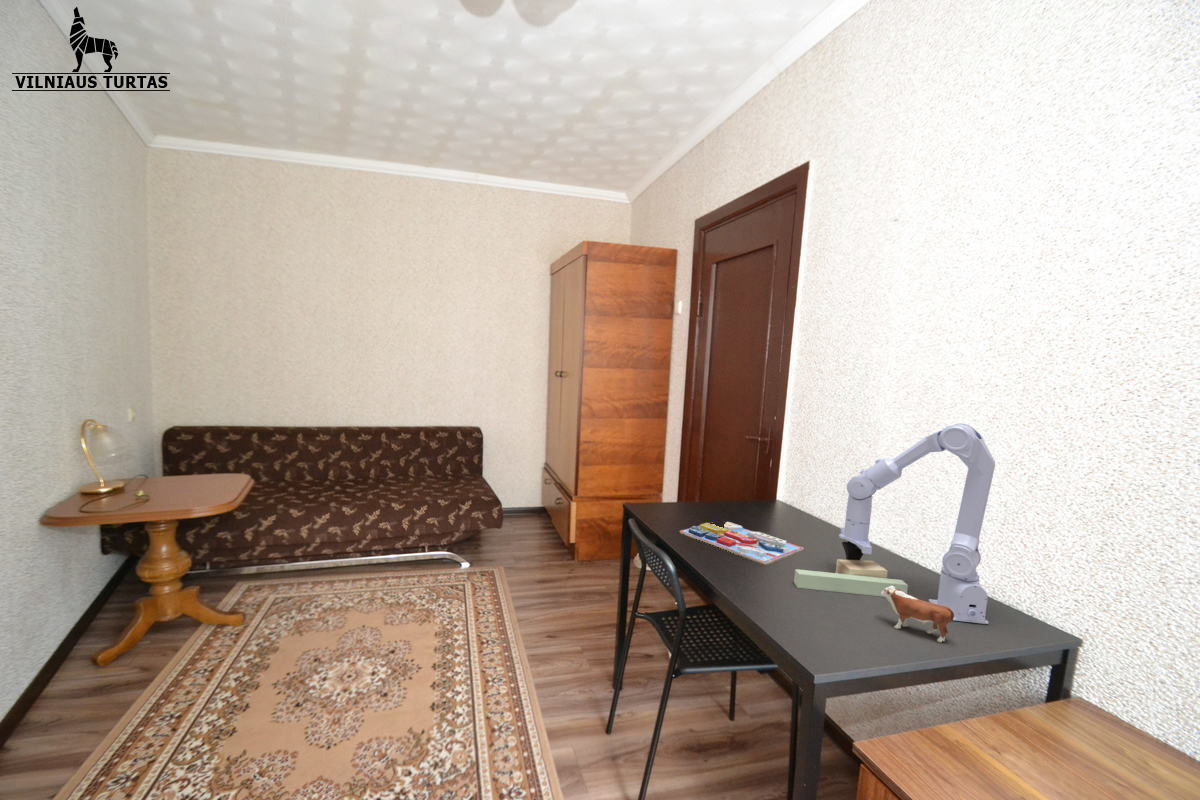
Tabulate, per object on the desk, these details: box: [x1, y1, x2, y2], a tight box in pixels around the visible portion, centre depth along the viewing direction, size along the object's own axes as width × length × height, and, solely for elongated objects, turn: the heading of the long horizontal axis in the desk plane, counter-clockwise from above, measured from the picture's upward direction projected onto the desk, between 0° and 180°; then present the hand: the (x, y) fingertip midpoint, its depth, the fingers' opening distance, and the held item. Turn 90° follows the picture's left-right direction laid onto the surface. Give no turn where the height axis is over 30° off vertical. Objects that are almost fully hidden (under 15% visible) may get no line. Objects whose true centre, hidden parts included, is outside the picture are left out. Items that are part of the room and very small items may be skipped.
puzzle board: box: [678, 521, 805, 567], centre depth 155 cm, size 30×23×3 cm
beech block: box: [835, 558, 889, 579], centre depth 128 cm, size 6×10×5 cm, turn 94°
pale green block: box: [793, 568, 909, 598], centre depth 123 cm, size 3×26×4 cm, turn 85°
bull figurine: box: [881, 586, 954, 644], centre depth 105 cm, size 4×13×8 cm, turn 51°
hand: (851, 570), depth 132 cm, fingers closed, pressing on beech block
